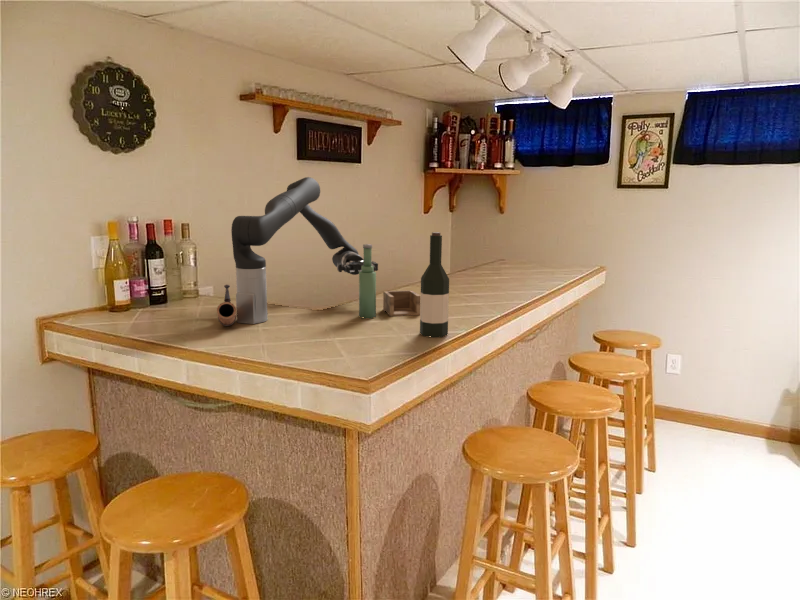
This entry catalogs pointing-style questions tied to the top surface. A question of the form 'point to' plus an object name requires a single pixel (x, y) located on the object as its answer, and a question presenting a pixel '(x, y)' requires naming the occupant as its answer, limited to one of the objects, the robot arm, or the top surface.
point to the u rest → (401, 303)
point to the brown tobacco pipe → (226, 310)
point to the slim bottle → (367, 285)
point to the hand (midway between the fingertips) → (361, 269)
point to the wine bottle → (434, 293)
